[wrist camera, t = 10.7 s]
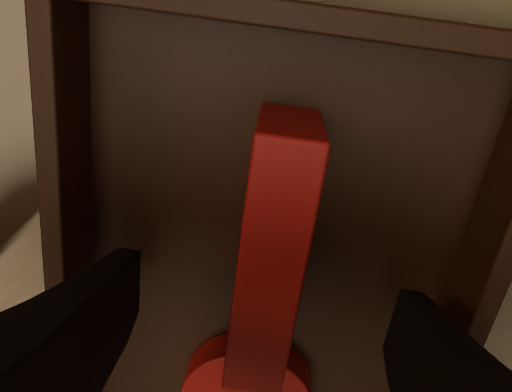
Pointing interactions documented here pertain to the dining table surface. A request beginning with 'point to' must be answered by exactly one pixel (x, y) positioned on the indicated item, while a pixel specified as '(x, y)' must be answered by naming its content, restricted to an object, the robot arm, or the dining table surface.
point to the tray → (238, 160)
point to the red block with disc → (269, 259)
